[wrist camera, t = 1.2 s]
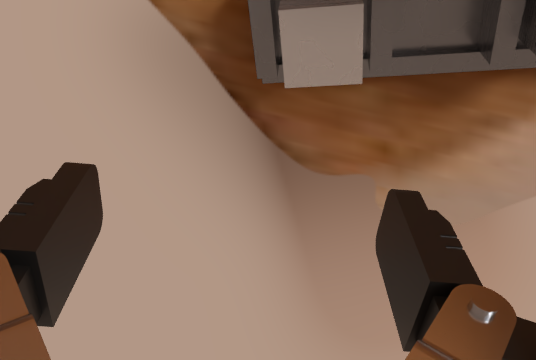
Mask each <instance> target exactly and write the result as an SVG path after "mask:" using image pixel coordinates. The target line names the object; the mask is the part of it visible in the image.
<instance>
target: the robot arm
mask: <svg viewBox="0 0 536 360" xmlns="http://www.w3.org/2000/svg"><path fill="white" fill-rule="evenodd" d="M102 219H103V211H102V202H101V195H100V187H99V178H98V172H97V168H96V166H95V165H93V164H82V163H81V164H80V163H69V162H66V163H64V164H63V165H62V166H61V168H60V169H59V170H58V172H57V173H56V174H55V176H54V177H53V179H52V180H50V179H42V180H41V181H39V182H37V183H36V184H34V185H33V186H31V187H29V188H28V189H26V191H25V192H24V193H23V194H22V196H21V197H20V198H19V199H18V201H17V204H15V205H14V206H13V207H12V208H11V209H10V211H9V214H8V215H6V216H5V217H4V218H3V220H2V221H1V222H0V360H51V359H50V357H49V354H48V352H47V349H46V346H45V344H44V342H43V339H42V337H41V334H40V332H39V329H38V327H37V326H47V327H54V325H55V323H56V321H57V318H58V317H59V314H60V313H61V310H62V308H63V306H64V304H65V302H66V300H67V298H68V296H69V294H70V292H71V290H72V288H73V286H74V284H75V282H76V280H77V278H78V276H79V273H80V272H81V270H82V268H83V266H84V264H85V262H86V260H87V258H88V255H89V253H90V251H91V249H92V247H93V245H94V243H95V241H96V239H97V237H98V235H99V233H100V230H101V226H102ZM376 254H377V258H378V261H379V265H380V269H381V272H382V276H383V279H384V283H385V287H386V290H387V294H388V298H389V301H390V305H391V308H392V312H393V316H394V319H395V322H396V326H397V330H398V333H399V337H400V341H401V344H402V348H403V351H410V353H409V354H408V356H407V358H406V359H405V360H536V323H534V322H531V321H528V320H525V319H522V318H519V317H517V316H516V313H515V311H514V309H513V307H512V306H511V305H510V303H509V302H508V301H507V300H506V299H505V298H503V297H502V296H501V295H499V294H498V293H496V292H495V291H493V290H491V289H488V288H486V287H483V285H482V283H481V282H480V280H479V278H478V276H477V274H476V272H475V270H474V268H473V266H472V264H471V262H470V260H469V258H468V256H467V255H466V253H465V251H464V250H462V245H461V243H460V241H459V239H457V235H456V233H455V232H454V230H453V228H452V226H451V224H450V222H449V221H447V220H446V219H445V218H444V217H443V216H442V215H441V214H440V213H439V212H438V211H436V210H428V208H427V206H426V204H425V202H424V200H423V198H422V196H421V194H420V192H418V191H409V190H397V189H391V190H390V191H389V192H388V195H387V198H386V202H385V205H384V209H383V213H382V216H381V220H380V224H379V227H378V231H377V236H376Z"/></svg>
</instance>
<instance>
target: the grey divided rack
mask: <svg viewBox="0 0 536 360" xmlns="http://www.w3.org/2000/svg"><path fill="white" fill-rule="evenodd" d="M248 6H249V14H250V23H251V31H252V39H253V47H254V56H255V64H256V72H257V79H262V83H263V84H264V83H281V82H284V84H285V88H297V87H315V86H332V85H350V84H362V78H367V77H384V76H401V75H418V74H435V73H452V72H469V71H486V70H503V69H520V68H536V0H248Z"/></svg>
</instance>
